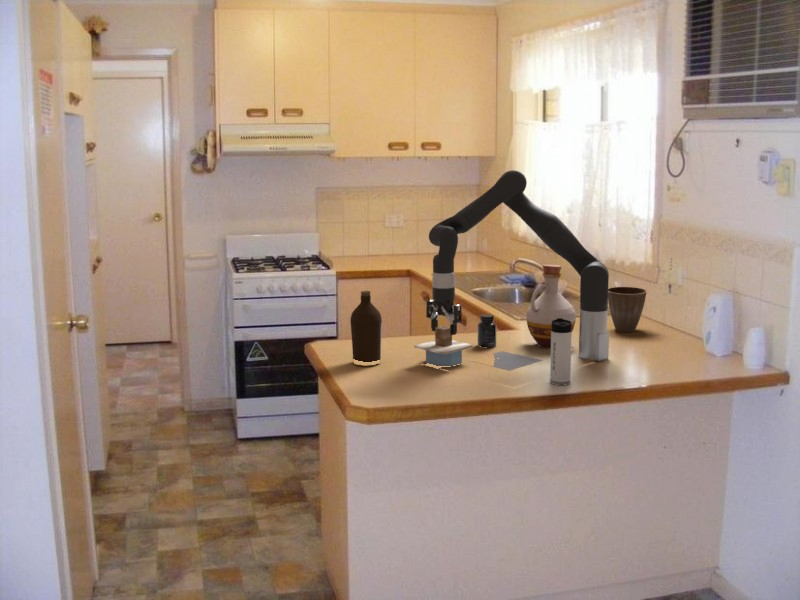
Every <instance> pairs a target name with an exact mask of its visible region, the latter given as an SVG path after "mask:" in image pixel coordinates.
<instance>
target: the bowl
mask: <svg viewBox="0 0 800 600" xmlns="http://www.w3.org/2000/svg"><path fill="white" fill-rule="evenodd" d="M462 357H463V350H461V351H457V352H453V353H449V354H445V355H443V354H439V353H435V352H431V351H427V350H425V364H426V363H429V364H433V365H436V366H453V365H457V364H461V363H462V364H463V359H462Z"/></svg>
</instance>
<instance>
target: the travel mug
mask: <svg viewBox="0 0 800 600" xmlns="http://www.w3.org/2000/svg"><path fill="white" fill-rule="evenodd" d="M551 327H552V329H551V332H552V333H551V348H550V362H549V363H550V365H549V366H550V370H549V371H550V374H549V383H551V384H552V383H554V384H553V385H555V384H560V385H559V386H565V385H564V384H567V385H569V384H571V370H572V368H571V365H572V335H573V334H572V333H573V331H571V328H572V323H571V321H569V320H564V319H562V318H557V319H556V320H553V321H552V326H551Z"/></svg>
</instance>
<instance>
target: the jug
mask: <svg viewBox="0 0 800 600" xmlns="http://www.w3.org/2000/svg"><path fill="white" fill-rule="evenodd" d="M542 269H543V272H542V277H543V279H544V283H541V284H539V285H538V286H537V287H536V288H535V289H534V291H533V293H532V295H531V298H530V304H529V307H528V308H527V311H526V315H525V317H526V324H527V329H528V331H529V334H530V336H531V337H532V338H533V340H534V341H535V342H536V344H537V345H538V346H539V347H540V348H543V347H544V348H543V349H551V333H552V332H551V329H552V327H551V326H552V321H553V320H556V319H557V318H562V319H564V320H569V321H571V323H572V328H571V331H572V332H573V331H574V328H575V324H576V320H577V314H576V311H575V308H574V307H573V305H572V304H571V303H570V302H569V300H567V299H566V298H565V297H564V296H563V295H562V294H561V293H560V292H559V281H560V278H561V275H562V272H561V269H562V265H559V264H542ZM543 288H544V290H543V292H542V293H541V294H540V296H539V297H537V296H538V294H539V292H540V291H541V289H543Z"/></svg>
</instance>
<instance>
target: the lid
mask: <svg viewBox="0 0 800 600" xmlns="http://www.w3.org/2000/svg"><path fill="white" fill-rule="evenodd" d="M434 332H435V333H434V334H435V337H434V338H435V339H434V340H430V341H426V342H422V343H418V344H414V346H413V347H414V348H415V349H419V350H423V351H426V350H427V351H431V352H435V353H439V354H443V355H445V354H449V353H453V352H457V351H461V350H462V351H464V350H468V349H472V348H474V345H473V344H471V343H466V342H462V341H457V340H454V339H453V335H450V326H447V325H446V326H445V325H440V326H438V327H437V328H435V331H434Z"/></svg>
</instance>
